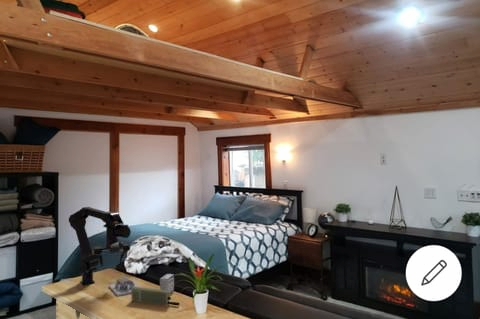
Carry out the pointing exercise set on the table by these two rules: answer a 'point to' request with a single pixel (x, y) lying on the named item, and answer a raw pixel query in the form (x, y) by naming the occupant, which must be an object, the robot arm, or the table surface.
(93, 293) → the table surface
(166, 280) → the medicine box
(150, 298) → the handheld radio
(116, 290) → the pin cradle
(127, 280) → the block
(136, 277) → the table surface
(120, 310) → the table surface
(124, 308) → the table surface
